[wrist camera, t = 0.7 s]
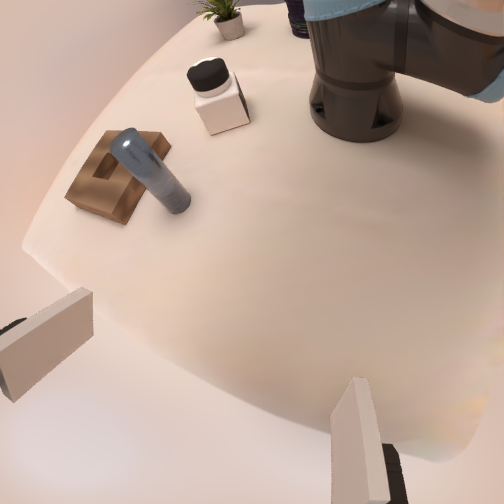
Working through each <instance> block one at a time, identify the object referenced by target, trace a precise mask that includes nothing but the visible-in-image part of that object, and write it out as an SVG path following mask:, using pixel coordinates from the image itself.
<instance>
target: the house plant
mask: <svg viewBox="0 0 504 504" xmlns="http://www.w3.org/2000/svg"><path fill="white" fill-rule="evenodd" d="M232 1H233V0H209V3H211V4H212V5H214V6H216V7H215V8H213V7H212V8H208V7H203V8H206V9H205V10H202V11H199V12H197V13H201V12H202V13H203V12H214V13H212V14H208V15H206V16H205V17H204V19H205V18H206V17H207V21H208V20H209V19H210V18H211V17H212V16H213V15H214V14H216V15H219V16H217V18H215V19H214V23H215V24H216V26H217V27H218V29H219V30H220V32H221V33H222V35H223V36H224V38H225V39H226V40H234V39H237V38H240V37H241V36H243V35H244V28H243V21H242V15H241V12H238V11H236V10H237V9H235V10H234V6H235V4H236V3H237V2H238V1H239V0H238V1H237V2H236V3H235V4H234V6H231V5H232ZM203 4H204V3H203ZM239 10H240V8H239ZM215 11H216V12H215ZM217 12H218V13H217ZM220 12H221V13H220ZM201 15H202V14H201ZM214 16H215V15H214ZM204 19H203V20H204Z"/></svg>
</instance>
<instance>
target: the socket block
mask: <svg viewBox="0 0 504 504" xmlns="http://www.w3.org/2000/svg"><path fill="white" fill-rule="evenodd" d="M120 132H122V131H106V132H105V133H104V135H103V136H102V138H101V139H100V140H99V142H98V143H97V145H96V146H95V148H94V149H93V151H92V152H91V154H90V155H89V157H88V159H87V160H86V162H85V163H84V165H83V166H82V168H81V170H80V171H79V173H78V175H77V176H76V178H75V180H74V181H73V183H72V185H71V186H70V188H69V190H68V192H67V193H66V195H65V197H64V198H66V199H67V200H69V201H70V202H71V203H73V204H74V205H75V206H77V207H79V208H82V209H84V210H87V211H90V212H93V213H95V214H98V215H101V216H104V217H106V218H109V219H112V220H114V221H117V222H120V223H123V224H127V222H128V220H129V218H130V216H131V214H132V213H133V211H134V209H135V207H136V205H137V203H138V201H139V200H140V198H141V196H142V194H143V193H144V191H145V189H146V188H145V187H144V186H143V185H142V184H141V183H140V182H139V181H138V180H137V179H136V178H135V177H134V176H133V175H132V174H131V173H130V172H129V171H128V170H127V169H126V168H125V167H124V166H123V165H122V164H121V163H120V162H119V161H118V160H117V159H116V158H115V157H114V156H113V155H112V154H111V153H110V150H109V149H110V145H111V143H112V141H113V140H114V138H115V137H116V136H117V135H118V134H119V133H120ZM138 132H139V134H140V135H141V136H142V137H143V138H144V140H145V141H146V142H147V143H148V145H149V146H150V147H151V148H152V149H153V151H154V152H155V153H156V154H157V155H158V157H159V158H160V159H161V160H163V159H164V157H165V155H166V154H167V152H168V151H169V149H170V148H171V145H170V144H169V143H168V141H167V140H166V138H165V137H164V136H163V134H162V133H161V132H147V131H138Z"/></svg>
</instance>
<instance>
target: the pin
mask: <svg viewBox="0 0 504 504" xmlns="http://www.w3.org/2000/svg"><path fill="white" fill-rule="evenodd" d="M109 150H110V153H111V154H112V155H113V156H114V157H115V158H116V159H117V160H118V161H119V162H120V163H121V164H122V165H123V166H124V167H125V168H126V169H127V170H128V171H129V172H130V173H131V174H132V175H133V176H134V177H135V178H136V179H137V180H138V181H139V182H140V183H141V184H142V185H143V186H144V187H145V188H146V189H147V190H148V191H149V192H150V193H151V194H152V195H153V196H154V197H155V198H156V199H157V200H158V201H159V202H160V203H161V204H162V205H163V206H164V207H165V208H166V209H167V210H169V211H170V212H171V213H173V214H179V213H181V212H183V211H184V210H186V209H187V207H188V206H189V204H190V201H191V196H190V194H189V193H188V192H187V191H186V189H185V188H184V187H183V186H182V184H181V183H180V182H179V181H178V180H177V178H176V177H175V176H174V175H173V174H172V172H171V171H170V170H169V169H168V168H167V166H166V165H165V164H164V163H163V162H162V160H161V159H160V158H159V157H158V155H157V154H156V153H155V152H154V151H153V149H152V148H151V147H150V146H149V145H148V143H147V142H146V141H145V140H144V138H143V137H142V136H141V135H140V134H139V132H138V131H137V130H136V129H135V128H128V129H125V130H123V131H122V132H120V133H119V134H118V135H117V136H116V137H115V138H114V140H113V141H112V143H111V145H110V149H109Z"/></svg>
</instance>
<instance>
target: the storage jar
mask: <svg viewBox="0 0 504 504" xmlns="http://www.w3.org/2000/svg"><path fill="white" fill-rule="evenodd" d="M285 1H286V4H287V7H288V11H289V13H288V18H289V22H290V25H291V28H292V32H293V34H294V35H295V36H297V37H299V38H304V39H310V37H309V32H308V27H307V22H306V20H305V17H304V14H305V10H304V3H303V0H285Z"/></svg>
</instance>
